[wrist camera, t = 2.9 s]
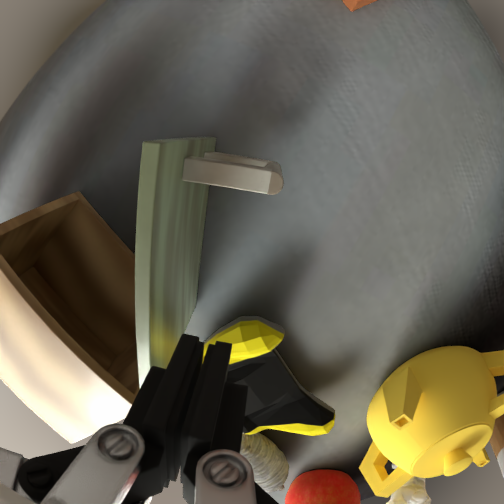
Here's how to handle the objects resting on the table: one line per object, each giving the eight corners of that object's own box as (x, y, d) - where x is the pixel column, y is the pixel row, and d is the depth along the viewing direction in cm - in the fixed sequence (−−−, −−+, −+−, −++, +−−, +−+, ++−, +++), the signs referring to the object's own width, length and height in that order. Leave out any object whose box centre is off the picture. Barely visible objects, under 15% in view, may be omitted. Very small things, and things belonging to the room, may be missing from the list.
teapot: (500, 319, 27) (556, 386, 16) (463, 417, 33) (492, 481, 22) (366, 344, 29) (398, 441, 18) (352, 442, 35) (363, 520, 23)
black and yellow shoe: (272, 288, 27) (178, 330, 30) (271, 323, 22) (162, 366, 24) (336, 395, 31) (255, 422, 34) (343, 434, 26) (252, 460, 29)
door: (284, 148, 23) (293, 162, 12) (252, 317, 28) (237, 425, 17) (206, 136, 23) (142, 140, 12) (187, 304, 28) (140, 404, 17)
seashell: (256, 490, 36) (255, 525, 28) (217, 416, 37) (208, 445, 29) (299, 477, 36) (305, 512, 28) (264, 401, 37) (265, 429, 29)
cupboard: (79, 190, 25) (-24, 234, 14) (187, 308, 29) (139, 410, 17) (30, 261, 28) (-49, 319, 17) (121, 358, 32) (71, 444, 20)
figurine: (367, 457, 36) (379, 527, 25) (395, 439, 34) (414, 511, 23) (405, 470, 38) (419, 530, 26) (430, 453, 36) (449, 514, 25)
